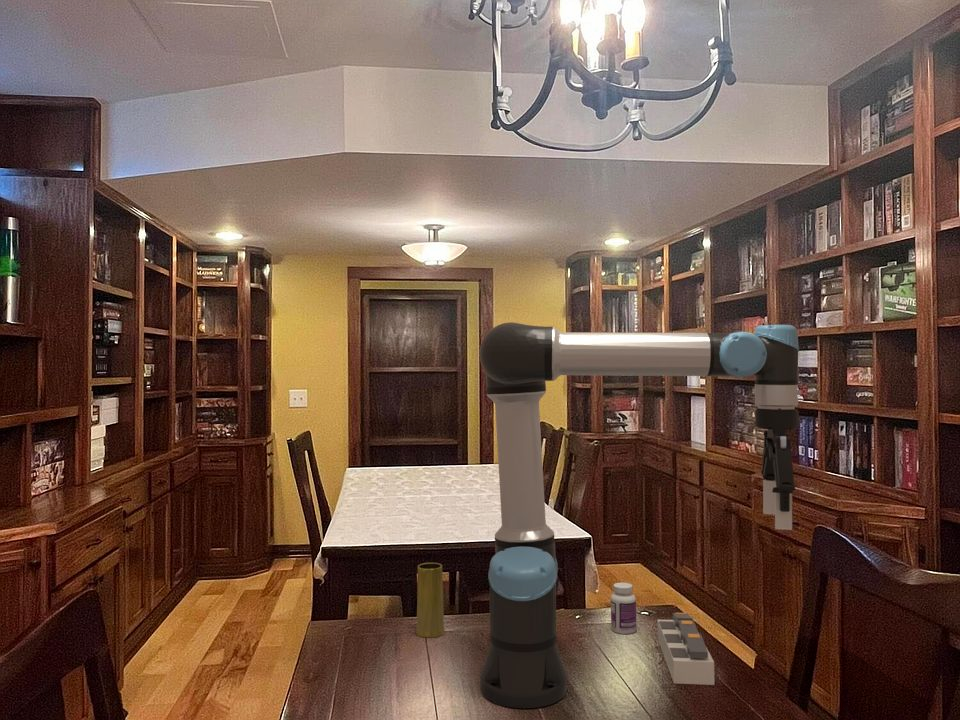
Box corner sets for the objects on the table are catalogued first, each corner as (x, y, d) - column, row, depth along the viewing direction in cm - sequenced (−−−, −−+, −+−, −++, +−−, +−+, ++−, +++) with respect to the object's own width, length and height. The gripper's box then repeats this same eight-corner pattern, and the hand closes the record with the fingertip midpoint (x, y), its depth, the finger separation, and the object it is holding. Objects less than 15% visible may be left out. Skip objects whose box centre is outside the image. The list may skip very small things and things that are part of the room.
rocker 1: (677, 624, 142) (677, 617, 142) (672, 619, 148) (672, 612, 148) (693, 624, 141) (692, 617, 142) (687, 619, 147) (687, 612, 148)
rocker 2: (683, 642, 135) (683, 636, 135) (678, 625, 141) (678, 619, 141) (699, 643, 135) (700, 636, 134) (693, 626, 141) (694, 620, 140)
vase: (413, 629, 155) (412, 563, 155) (440, 626, 157) (440, 560, 157) (419, 639, 149) (419, 570, 150) (448, 636, 151) (447, 568, 151)
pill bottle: (640, 628, 155) (639, 583, 155) (631, 636, 150) (630, 590, 150) (616, 624, 157) (615, 579, 158) (607, 631, 153) (606, 586, 153)
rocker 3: (690, 657, 128) (690, 650, 128) (684, 639, 134) (684, 632, 134) (707, 658, 128) (707, 651, 128) (701, 639, 134) (701, 633, 133)
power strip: (674, 683, 128) (673, 656, 128) (657, 638, 149) (657, 616, 149) (714, 685, 127) (714, 658, 127) (692, 640, 148) (692, 617, 148)
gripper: (813, 411, 121) (813, 537, 121) (785, 404, 146) (786, 509, 146) (765, 411, 123) (766, 535, 123) (746, 403, 147) (746, 507, 147)
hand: (776, 521), depth 134 cm, fingers open, 13 cm apart
